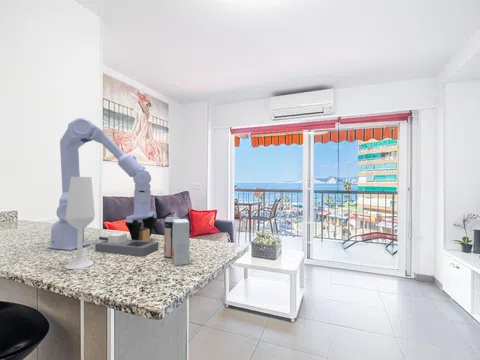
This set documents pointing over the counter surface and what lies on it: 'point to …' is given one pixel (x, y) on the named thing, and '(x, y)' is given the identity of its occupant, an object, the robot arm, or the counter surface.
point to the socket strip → (125, 245)
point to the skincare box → (180, 242)
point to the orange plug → (144, 234)
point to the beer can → (168, 236)
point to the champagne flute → (80, 214)
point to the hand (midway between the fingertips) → (141, 238)
